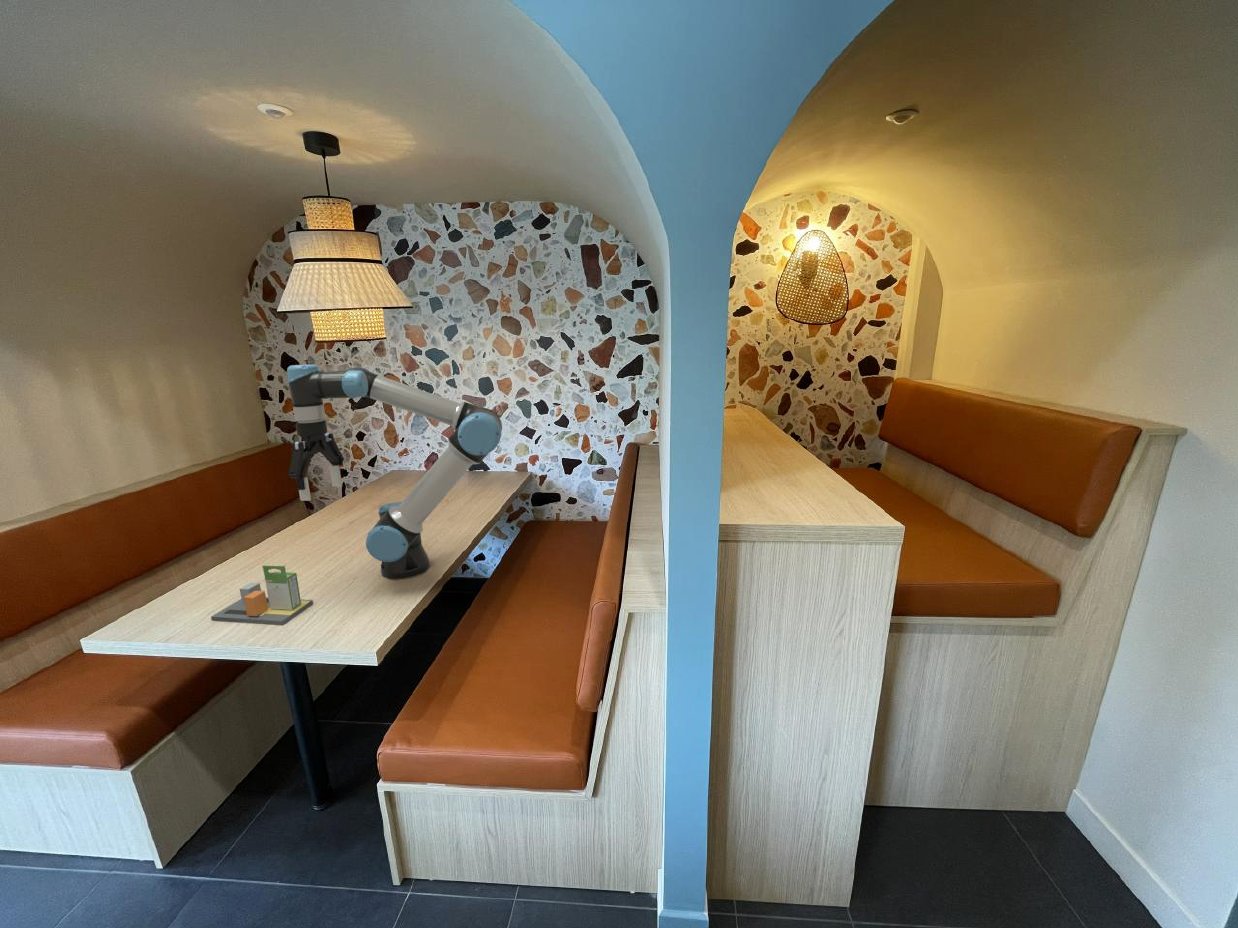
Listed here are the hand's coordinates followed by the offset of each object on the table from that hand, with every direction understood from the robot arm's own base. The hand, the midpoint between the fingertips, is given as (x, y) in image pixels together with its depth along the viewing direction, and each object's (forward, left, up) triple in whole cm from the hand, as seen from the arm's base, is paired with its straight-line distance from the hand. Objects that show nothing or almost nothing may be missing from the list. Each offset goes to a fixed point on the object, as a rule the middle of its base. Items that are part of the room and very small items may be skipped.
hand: (322, 493), depth 157 cm
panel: (+13, -14, -32) cm, 37 cm away
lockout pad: (+12, -8, -30) cm, 34 cm away
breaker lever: (+16, -13, -30) cm, 36 cm away
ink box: (+12, -8, -30) cm, 34 cm away
